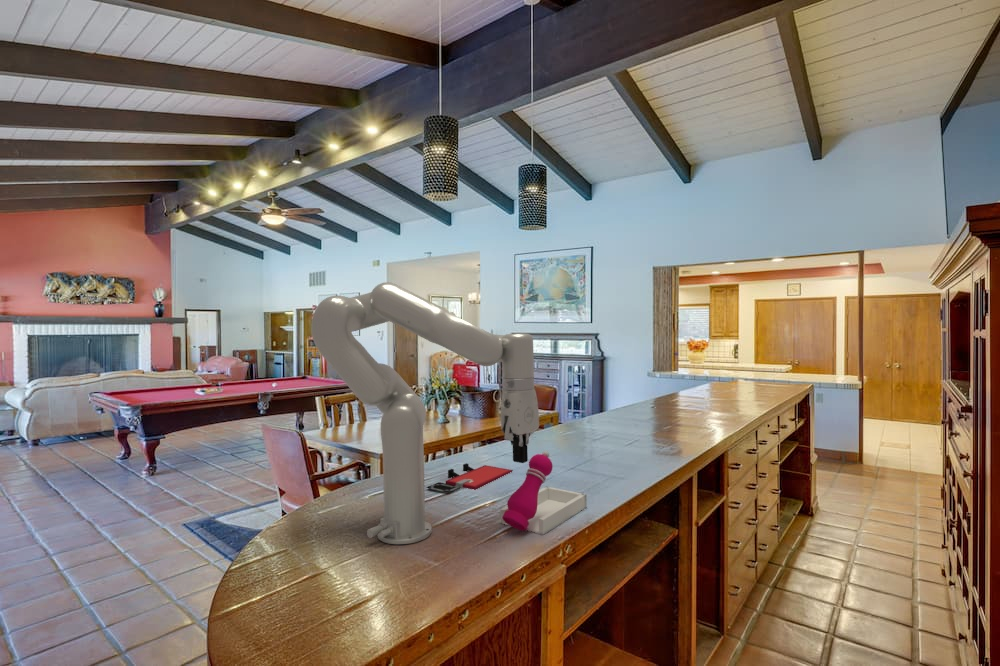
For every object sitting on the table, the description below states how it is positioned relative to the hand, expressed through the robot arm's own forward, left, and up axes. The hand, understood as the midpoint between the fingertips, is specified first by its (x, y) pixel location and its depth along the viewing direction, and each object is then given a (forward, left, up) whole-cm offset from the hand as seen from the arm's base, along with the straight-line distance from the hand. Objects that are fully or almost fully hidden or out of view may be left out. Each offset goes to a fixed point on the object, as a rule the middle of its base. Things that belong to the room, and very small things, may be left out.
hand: (520, 461), depth 119 cm
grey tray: (+11, 0, -16) cm, 20 cm away
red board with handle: (+24, +37, -17) cm, 47 cm away
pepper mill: (-3, 0, -14) cm, 15 cm away
